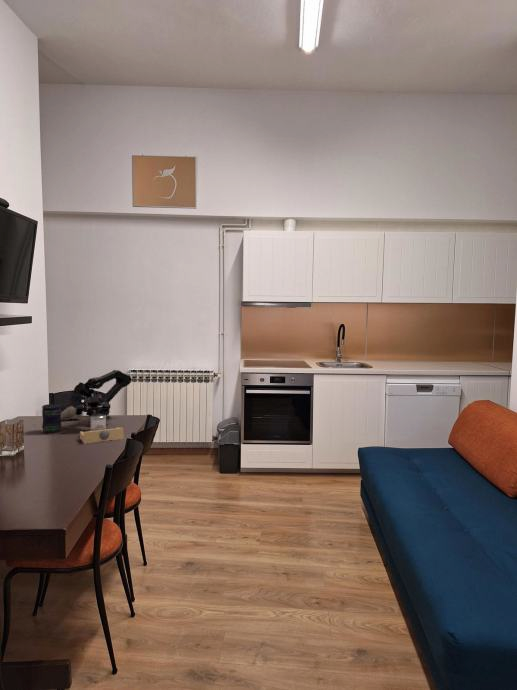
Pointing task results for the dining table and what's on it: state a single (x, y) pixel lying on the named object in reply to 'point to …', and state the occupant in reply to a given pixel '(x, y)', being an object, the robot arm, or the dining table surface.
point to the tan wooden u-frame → (102, 435)
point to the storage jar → (51, 418)
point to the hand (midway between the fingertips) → (95, 421)
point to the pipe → (69, 414)
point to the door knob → (98, 422)
